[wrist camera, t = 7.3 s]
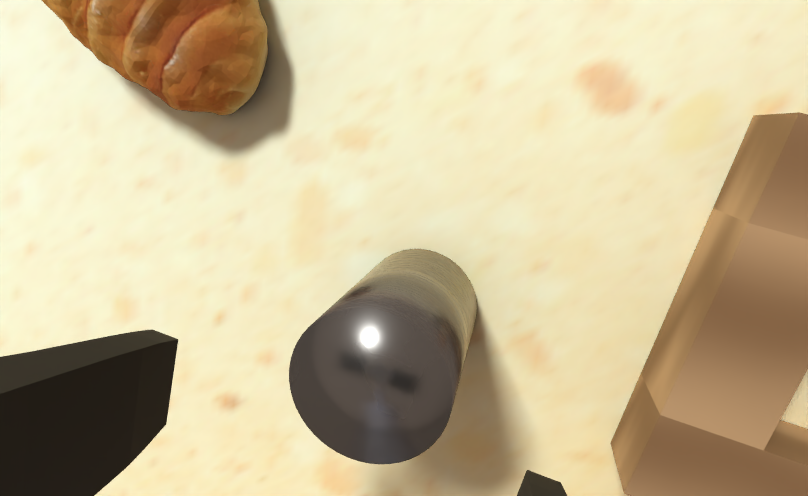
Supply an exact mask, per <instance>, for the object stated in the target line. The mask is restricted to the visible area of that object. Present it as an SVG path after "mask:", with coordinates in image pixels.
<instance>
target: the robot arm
mask: <svg viewBox="0 0 808 496" xmlns="http://www.w3.org/2000/svg"><path fill="white" fill-rule="evenodd" d="M177 344H178V339H176V338H173V337H171V336H168V335H165V334H163V333H160V332H157V331H155V330H145V331H137V332H130V333H124V334H119V335H113V336H108V337H103V338H98V339H93V340H88V341H83V342H78V343H73V344H68V345H62V346H57V347H52V348H47V349H42V350H37V351H32V352H27V353H21V354H15V355H9V356H3V357H0V496H94V495H95V494H97V493H98V492H99V491H100V490H101V489H102V488H103V487H105V486H106V485H107V484H108V483H109V482H110V481H112V480H113V479H114V478H115V477H116V476H117V475H118V474H119V473H121V472H122V471H123V470H124V469H125V468H126V467H127V466H128V465H129V464H130V463H131V462H132V461H133V460H134V459H135V458H136V457H137V456H138V455H139V454H140V453H141V452H142V451H143V450H144V449H145V447H146V446H147V445H148V444H149V443H150V442H151V441H152V440H153V438H154V437H155V436H156V435H157V434H158V433H159V432H160V430H161V429H162V428H163V427H164V426H165V425H166V422H167V414H168V407H169V400H170V393H171V386H172V379H173V372H174V365H175V358H176V351H177ZM517 496H567V494H566V492H565V490H564V488H563V486H562V484H561V482H558V481H555V480H553V479H550V478H547V477H545V476H542V475H539V474H537V473H534V472H531V471H529V470H527V471H526V474H525V476H524V479H523V481H522V484H521V487H520V489H519V492H518V494H517Z"/></svg>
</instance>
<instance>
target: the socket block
mask: <svg viewBox="0 0 808 496" xmlns="http://www.w3.org/2000/svg"><path fill="white" fill-rule="evenodd" d="M807 369H808V115H807V114H803V113H786V114H771V115H755V116H753V118H752V121H751V123H750V125H749V127H748V130H747V132H746V134H745V137H744V139H743V141H742V144H741V146H740V148H739V150H738V153H737V155H736V157H735V160H734V162H733V164H732V166H731V169H730V171H729V173H728V176H727V178H726V180H725V182H724V185H723V187H722V189H721V192H720V194H719V196H718V198H717V201H716V203H715V205H714V208H713V210H712V212H711V215H710V217H709V219H708V221H707V224H706V226H705V228H704V231H703V233H702V235H701V237H700V240H699V242H698V244H697V247H696V249H695V251H694V253H693V256H692V258H691V260H690V263H689V265H688V267H687V269H686V272H685V274H684V276H683V279H682V281H681V283H680V286H679V288H678V290H677V292H676V295H675V297H674V299H673V302H672V304H671V306H670V308H669V311H668V313H667V315H666V318H665V320H664V322H663V324H662V327H661V329H660V331H659V334H658V336H657V338H656V341H655V343H654V345H653V347H652V350H651V352H650V354H649V357H648V359H647V361H646V363H645V366H644V368H643V370H642V373H641V375H640V377H639V379H638V382H637V384H636V386H635V389H634V391H633V393H632V395H631V398H630V400H629V402H628V405H627V407H626V409H625V412H624V414H623V416H622V418H621V421H620V423H619V425H618V428H617V430H616V432H615V434H614V437H613V439H612V441H611V446H612V449H613V453H614V457H615V461H616V464H617V468H618V472H619V476H620V479H621V483H622V487H623V491H624V493H625V494H628V495H630V496H808V429H806V428H802V427H799V426H796V425H793V424H790V423H787V422H784V421H781V420H780V419H781V417H782V415H783V413H784V412H785V410H786V408H787V406H788V404H789V402H790V400H791V399H792V397H793V395H794V393H795V391H796V389H797V387H798V386H799V384H800V382H801V380H802V378H803V376H804V374H805V373H806V371H807Z"/></svg>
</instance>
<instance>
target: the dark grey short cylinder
mask: <svg viewBox="0 0 808 496" xmlns="http://www.w3.org/2000/svg"><path fill="white" fill-rule="evenodd" d="M476 315H477V301H476V295H475V292H474V289H473V286H472V284H471V282H470V280H469V279H468V277H467V276H466V274H465V273H464V272H463V270H462V269H461V268H460V267H459V266H458V265H457V264H456V263H454V262H453V261H452V260H450V259H449V258H447V257H445V256H443V255H441V254H439V253H436V252H433V251H429V250H423V249H409V250H403V251H400V252H397V253H394V254H392V255H390V256H388V257H387V258H385V259H384V260H383V261H381V262H380V263H379V264H378V265H377V266H376V267H375V268H374V269H372V270H371V271H370V272H369V273H368V274H367V275H366V276H365V277H364V278H363V279H361V280H360V281H359V282H358V283H357V284H356V285H355V286H354V287H353V288H351V289H350V290H349V291H348V292H347V293H346V294H345V295H344V296H343V297H342V298H340V299H339V300H338V301H337V302H336V303H335V304H334V305H333V306H332V307H331V308H329V309H328V310H327V311H326V312H325V313H324V314H323V315H322V316H321V317H319V318H318V319H317V320H316V321H315V322H314V323H313V324H312V325H311V326H310V327H309V328H308V329H307V330H306V331H305V332H304V333H303V334H302V336H301V337H300V339H299V340H298V342H297V344H296V346H295V348H294V351H293V354H292V357H291V361H290V368H289V382H290V390H291V393H292V397H293V401H294V403H295V406H296V408H297V410H298V412H299V414H300V416H301V418H302V419H303V421H304V422H305V424H306V425H307V427H308V428H309V429H310V430H311V431H312V432H313V434H314V435H315V436H316V437H318V438H319V439H320V440H321V441H322V442H323V443H324V444H326V445H327V446H328V447H330V448H331V449H333V450H335V451H336V452H338V453H340V454H342V455H344V456H346V457H348V458H351V459H354V460H357V461H361V462H365V463H371V464H392V463H399V462H403V461H406V460H409V459H411V458H414V457H416V456H418V455H420V454H421V453H423V452H424V451H426V450H427V449H428V448H429V447H431V446H432V445H433V444H434V443H435V442H436V440H437V439H438V438H439V437H440V436H441V434H442V432H443V431H444V429H445V427H446V425H447V422H448V420H449V417H450V413H451V410H452V406H453V402H454V398H455V395H456V391H457V387H458V383H459V380H460V376H461V372H462V369H463V365H464V361H465V357H466V354H467V350H468V346H469V343H470V339H471V335H472V331H473V328H474V324H475V320H476Z"/></svg>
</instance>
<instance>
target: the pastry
mask: <svg viewBox="0 0 808 496" xmlns="http://www.w3.org/2000/svg"><path fill="white" fill-rule="evenodd" d="M42 1H43V2H44V3H45V4H46V5H47V6H48V7H49V8H50V9H51V10H52V11H53V12H54V13H55V14H56V15H57V16H58V17H59V18H60V19H61V20H62V21H63V22H64V23H65V25H66V26H67V28H68V29H69V31H70V33H71V34H72V35H73V36H74V37H75V38H77V39H78V40H79V41H80V42H81V43H82V44H83V45H84V46H85V47H86V48H88V49H90V50H91V51H92V52H93V53H94V55H95V56H96V57H97V59H98V60H100V61H101V62H103V63H104V64H106V65H108V66H110V67H112V68H114V69H115V70H116V71H117V72H118V73H119V74H121V75H122V76H123V77H124V78H125V79H127V80H130V81H132V82H135V83H138V84H140V85H141V86H142V87H144V88H147V89H148V90H150V91H151V92H152V93H154V94H155V95H157V96H158V97H160V98H161V99H162V100H163V101H165V102H166V103H167V104H168V105H169V106H170V107H172V108H174V109H177V110H187V111H198V112H203V111H206V112H213V113H216V114H218V115H228V114H231V113H234V112H235V111H236V110H237V109H239V108H240V107H241V106H242V105H244V104H245V103H246V102H247V101H248V100H249V99H250V98H251V97H252V95H253V94H254V93H255V91H256V89H257V87H258V84H259V82H260V79H261V76H262V74H263V70H264V67H265V63H266V59H267V55H268V46H267V34H268V30H267V26H266V23H265V21H264V19H263V17H262V15H261V13H260V7H259V2H258V0H42Z"/></svg>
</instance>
